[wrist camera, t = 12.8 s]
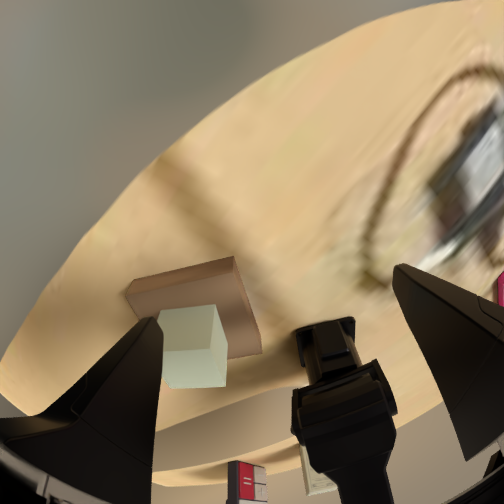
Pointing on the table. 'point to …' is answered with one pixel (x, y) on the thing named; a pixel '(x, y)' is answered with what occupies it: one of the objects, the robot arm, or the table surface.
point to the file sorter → (501, 290)
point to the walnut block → (202, 300)
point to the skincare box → (314, 477)
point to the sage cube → (193, 347)
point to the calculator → (246, 484)
